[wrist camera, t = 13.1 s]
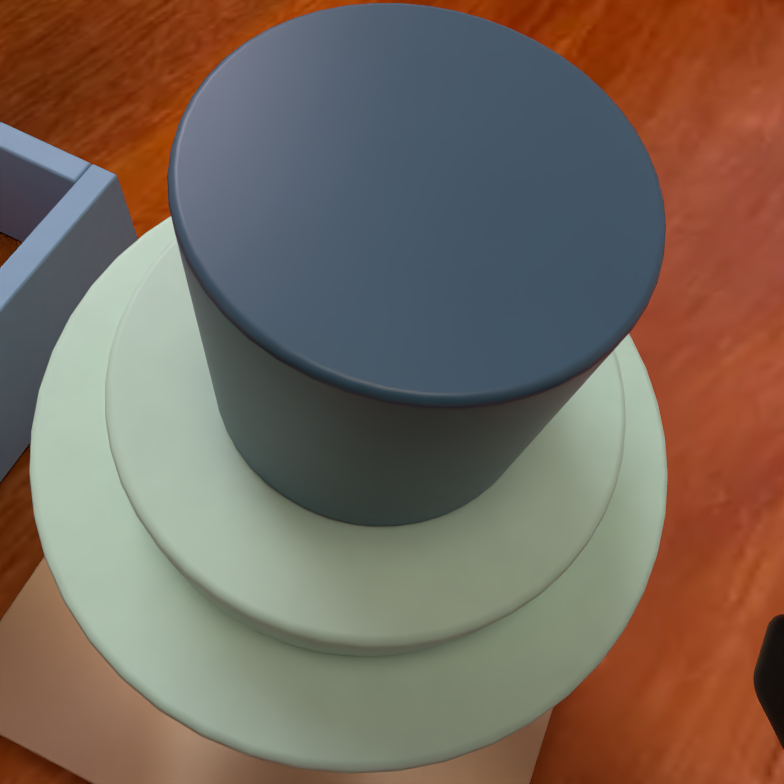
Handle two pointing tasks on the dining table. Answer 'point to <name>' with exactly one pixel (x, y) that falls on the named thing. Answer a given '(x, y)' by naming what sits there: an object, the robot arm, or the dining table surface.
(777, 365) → the dining table surface
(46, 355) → the open rectangular frame
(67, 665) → the cork mat
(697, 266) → the dining table surface
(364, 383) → the water bottle
